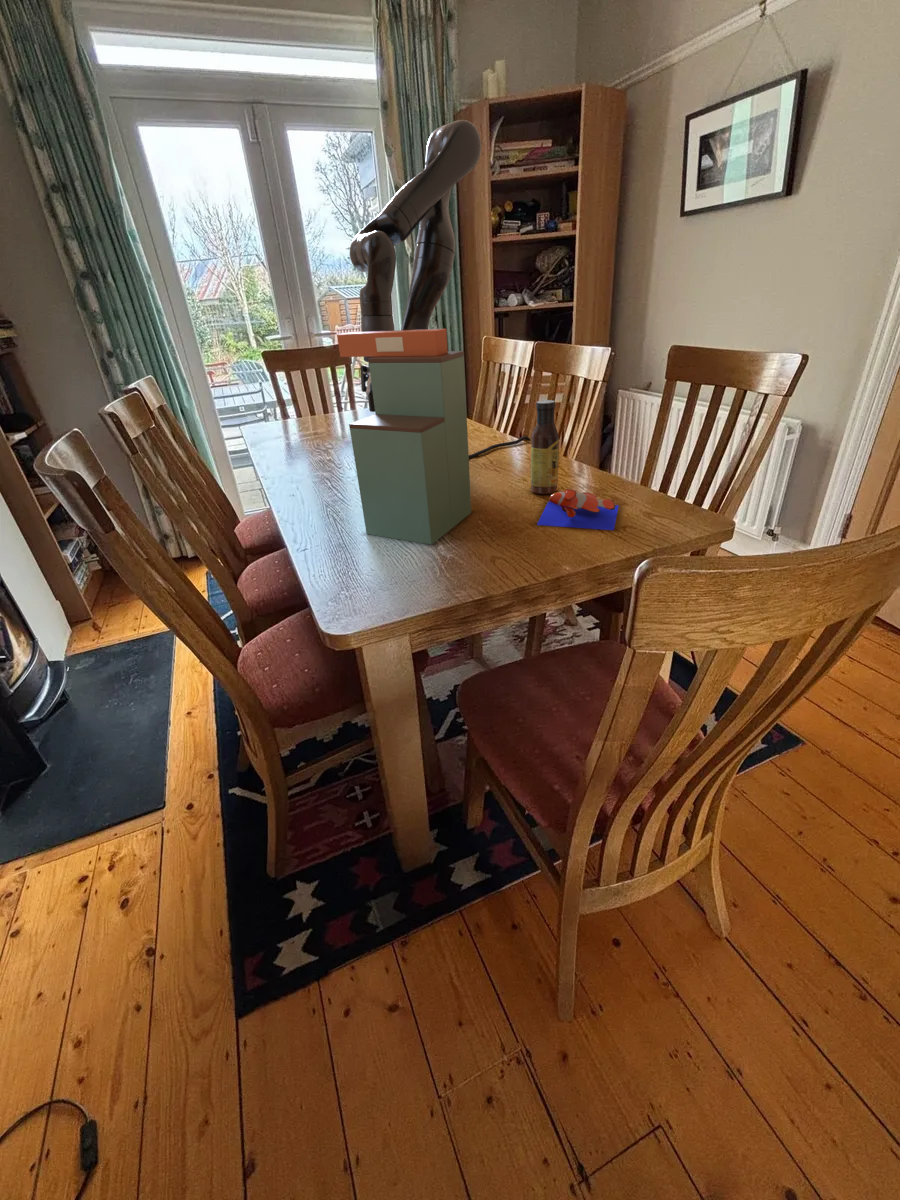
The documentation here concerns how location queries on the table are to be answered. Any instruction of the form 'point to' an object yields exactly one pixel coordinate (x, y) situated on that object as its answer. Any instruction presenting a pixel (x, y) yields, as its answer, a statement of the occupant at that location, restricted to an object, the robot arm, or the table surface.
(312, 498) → the table surface
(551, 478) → the sauce bottle
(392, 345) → the box
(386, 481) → the stand
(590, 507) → the fish
